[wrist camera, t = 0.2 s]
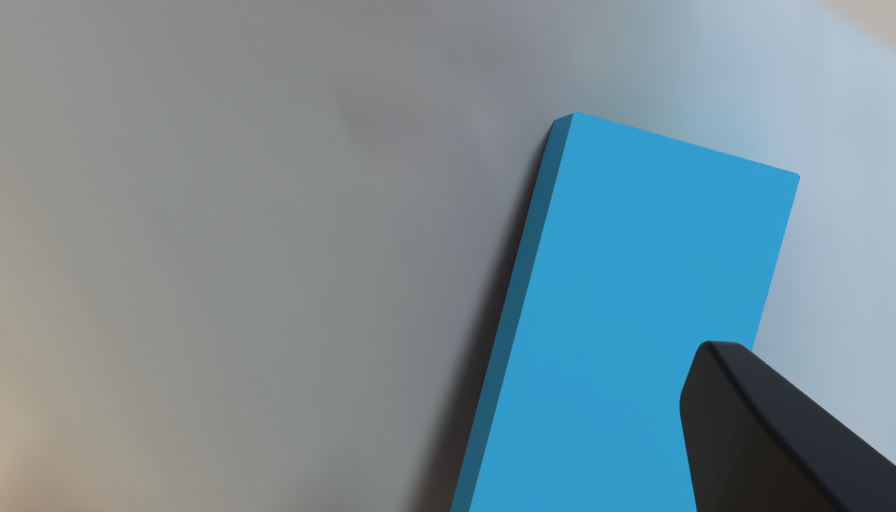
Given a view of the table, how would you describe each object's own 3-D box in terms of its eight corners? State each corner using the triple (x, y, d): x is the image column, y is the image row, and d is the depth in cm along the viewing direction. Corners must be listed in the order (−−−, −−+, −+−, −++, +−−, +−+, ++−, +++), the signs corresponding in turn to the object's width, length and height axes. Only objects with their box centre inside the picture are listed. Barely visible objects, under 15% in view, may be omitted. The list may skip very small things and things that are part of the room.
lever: (520, 130, 28) (399, 598, 29) (574, 111, 21) (412, 725, 22) (694, 178, 29) (571, 630, 30) (800, 174, 22) (636, 762, 23)
